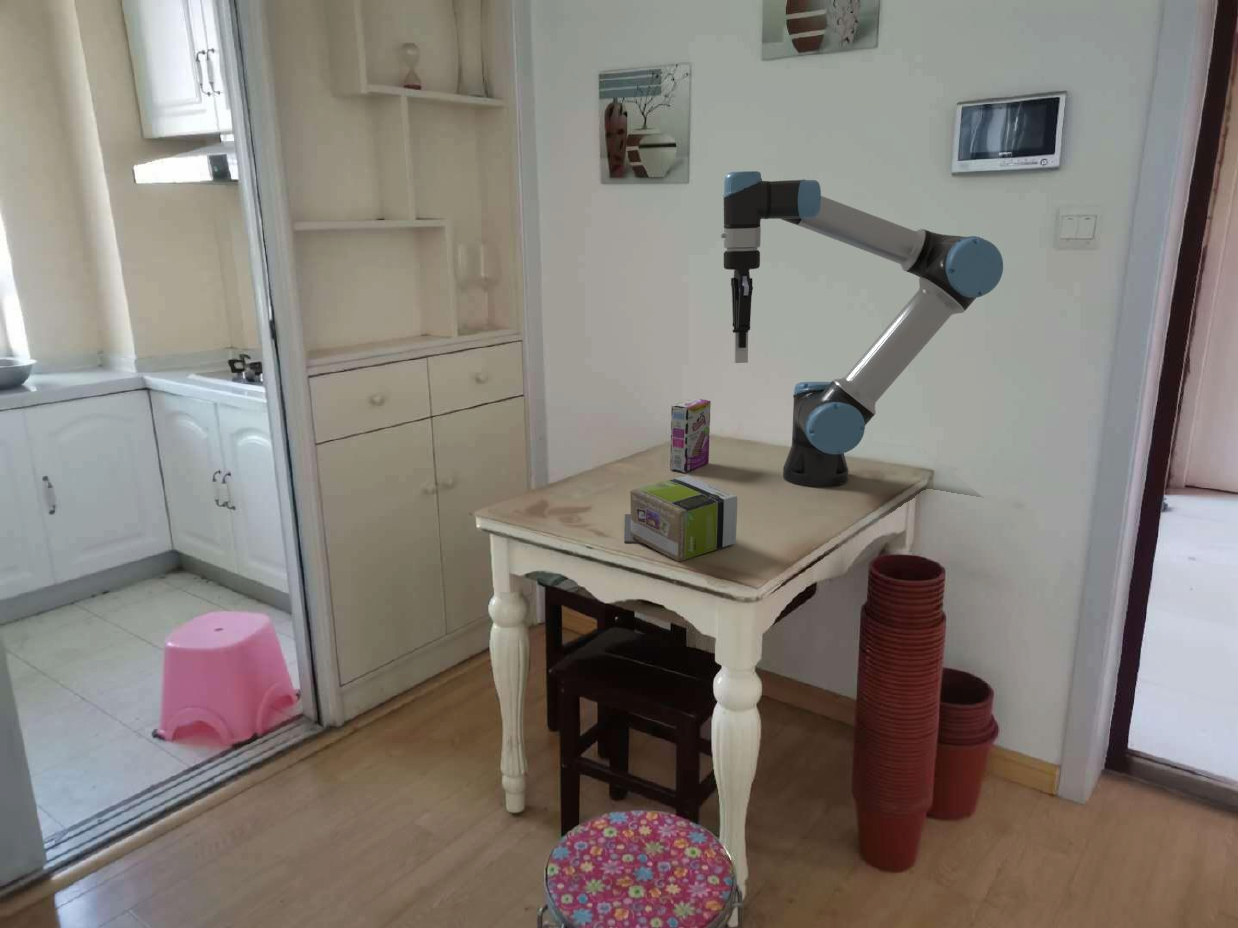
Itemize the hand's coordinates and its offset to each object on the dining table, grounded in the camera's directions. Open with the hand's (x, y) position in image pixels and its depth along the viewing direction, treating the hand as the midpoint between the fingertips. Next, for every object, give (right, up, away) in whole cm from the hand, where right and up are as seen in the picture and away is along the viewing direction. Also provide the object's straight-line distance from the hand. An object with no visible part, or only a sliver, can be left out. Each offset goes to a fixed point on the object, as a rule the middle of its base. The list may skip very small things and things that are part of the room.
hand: (740, 362), depth 196 cm
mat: (-18, -35, -13) cm, 41 cm away
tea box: (-8, -31, -18) cm, 36 cm away
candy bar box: (-8, -23, +31) cm, 39 cm away
